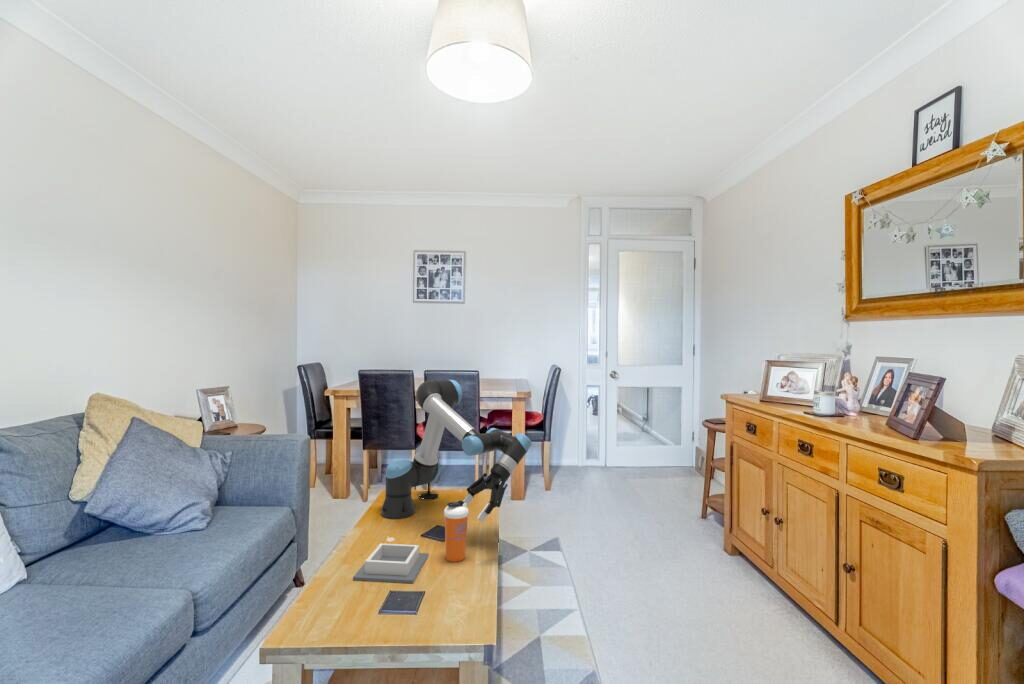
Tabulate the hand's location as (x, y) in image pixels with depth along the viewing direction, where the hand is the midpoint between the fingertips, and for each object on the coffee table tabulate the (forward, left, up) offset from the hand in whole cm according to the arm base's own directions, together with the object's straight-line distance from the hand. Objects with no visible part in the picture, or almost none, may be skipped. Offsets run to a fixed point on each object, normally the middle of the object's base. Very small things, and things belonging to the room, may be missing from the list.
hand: (469, 514), depth 171 cm
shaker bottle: (+2, -5, -15) cm, 16 cm away
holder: (+12, -25, -15) cm, 31 cm away
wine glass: (-65, -32, -15) cm, 73 cm away
